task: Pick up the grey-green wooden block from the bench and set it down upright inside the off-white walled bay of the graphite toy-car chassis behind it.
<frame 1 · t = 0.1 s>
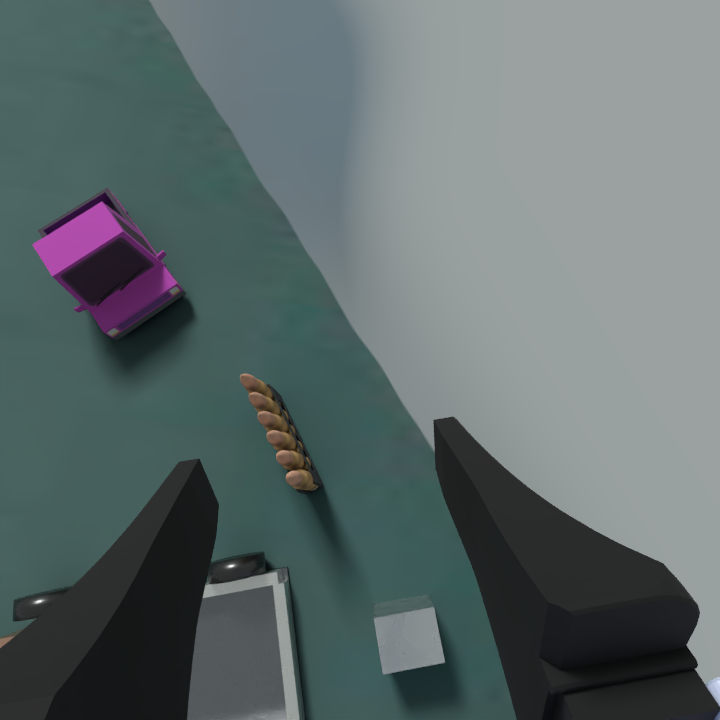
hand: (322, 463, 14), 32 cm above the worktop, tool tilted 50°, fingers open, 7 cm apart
chassis: (198, 662, 40), on the worktop
toy truck: (125, 273, 53), on the worktop
ammunition clip: (293, 442, 46), on the worktop
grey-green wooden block: (405, 623, 41), on the worktop
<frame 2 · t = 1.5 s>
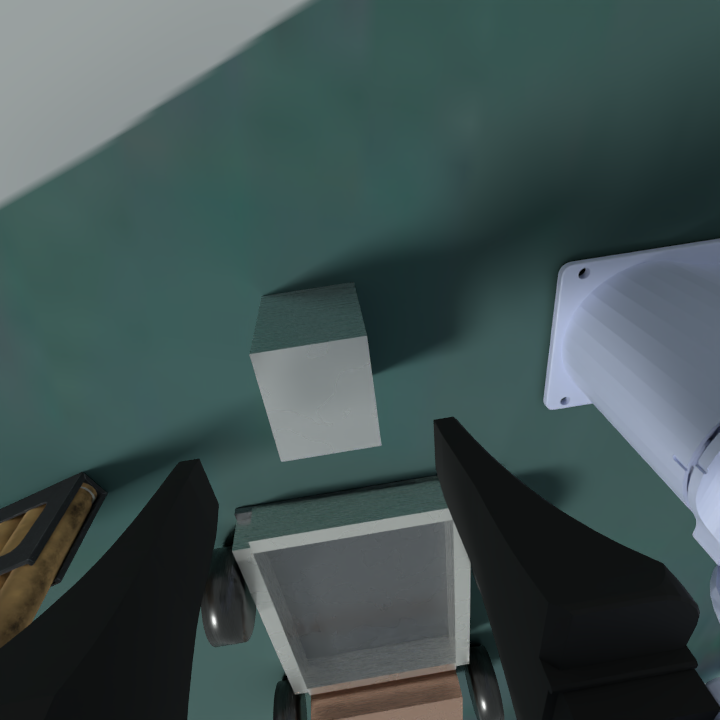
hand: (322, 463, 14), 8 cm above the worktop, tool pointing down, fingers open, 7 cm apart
chassis: (365, 581, 31), on the worktop
ammunition clip: (17, 515, 25), on the worktop
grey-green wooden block: (317, 338, 21), on the worktop
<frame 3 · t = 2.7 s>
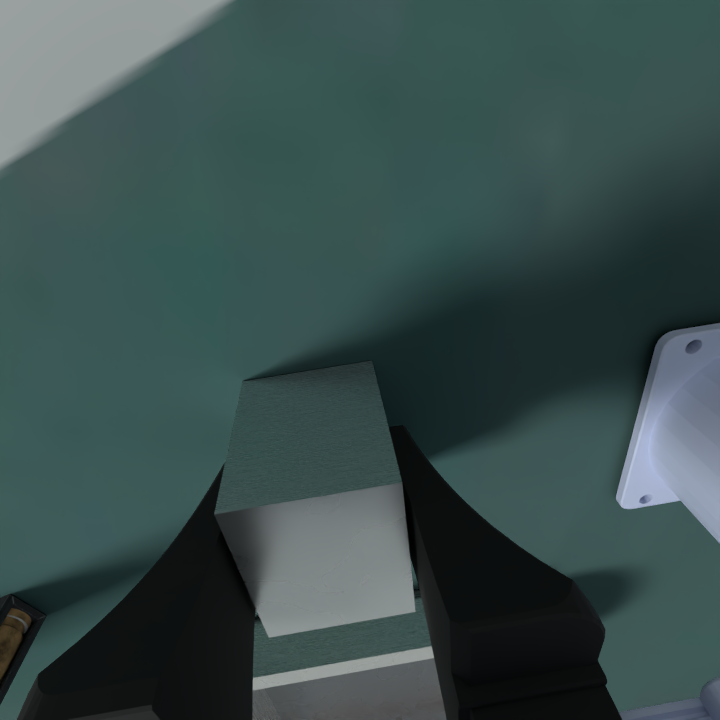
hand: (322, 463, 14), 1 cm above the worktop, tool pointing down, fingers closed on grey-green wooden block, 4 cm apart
chassis: (378, 691, 25), on the worktop
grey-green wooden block: (321, 432, 15), on the worktop, touching gripper
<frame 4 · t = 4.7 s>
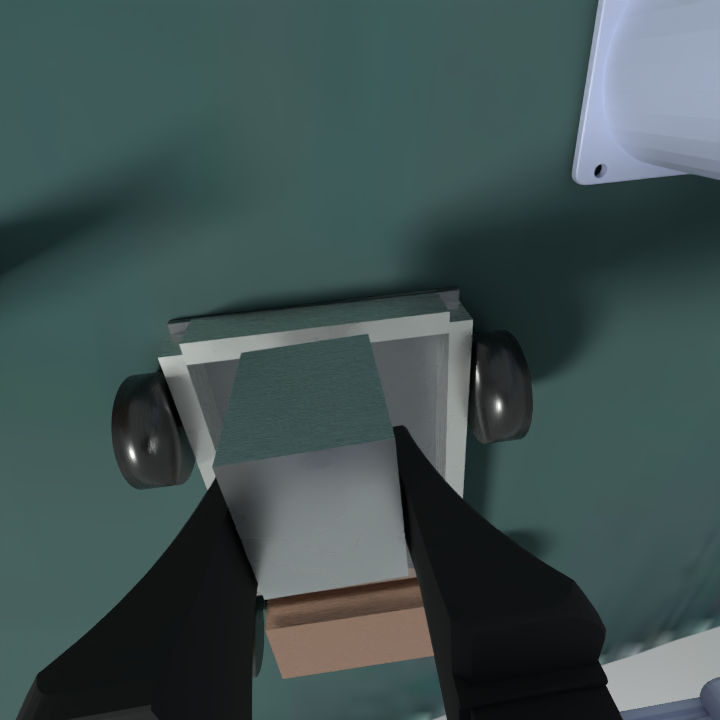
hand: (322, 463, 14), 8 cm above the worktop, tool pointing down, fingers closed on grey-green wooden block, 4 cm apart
chassis: (336, 451, 25), on the worktop
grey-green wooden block: (318, 406, 15), point 6 cm above the worktop, touching gripper
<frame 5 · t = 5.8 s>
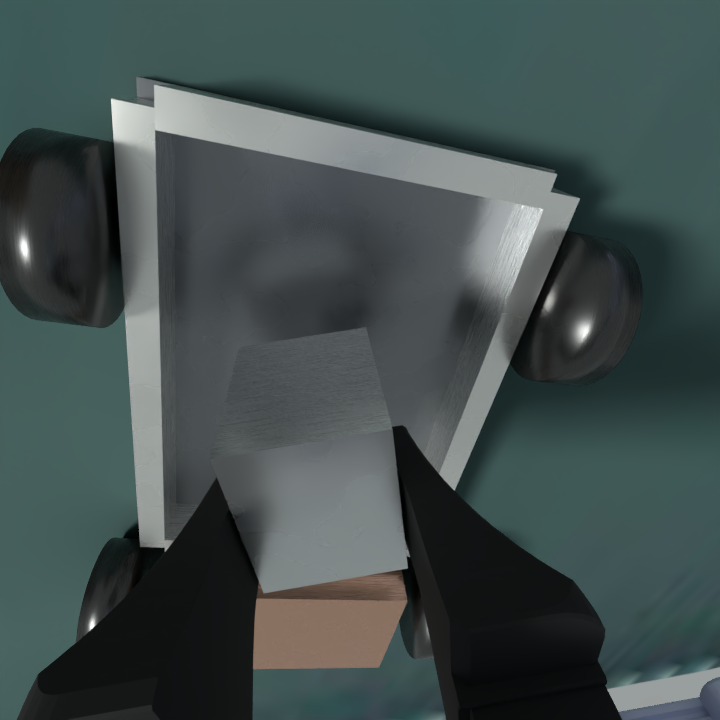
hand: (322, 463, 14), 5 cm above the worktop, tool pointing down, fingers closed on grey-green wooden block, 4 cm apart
chassis: (318, 368, 18), on the worktop
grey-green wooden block: (316, 401, 15), point 3 cm above the worktop, touching gripper
when the fingers open (3 cm above the worktop, at t = 6.6 s): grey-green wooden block stays where it is, resting on chassis.
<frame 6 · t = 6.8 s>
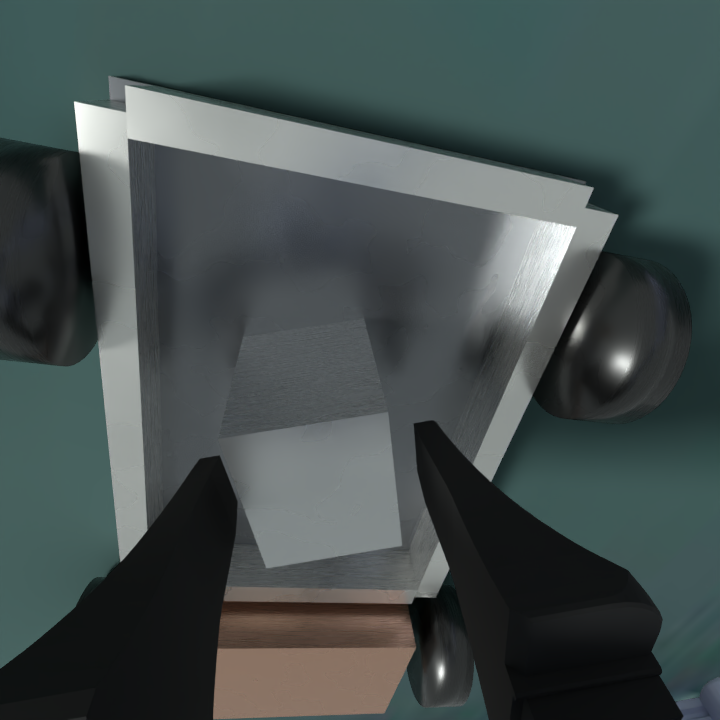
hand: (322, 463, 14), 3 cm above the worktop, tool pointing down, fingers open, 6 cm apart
chassis: (319, 398, 17), on the worktop
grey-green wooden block: (316, 389, 16), resting on chassis
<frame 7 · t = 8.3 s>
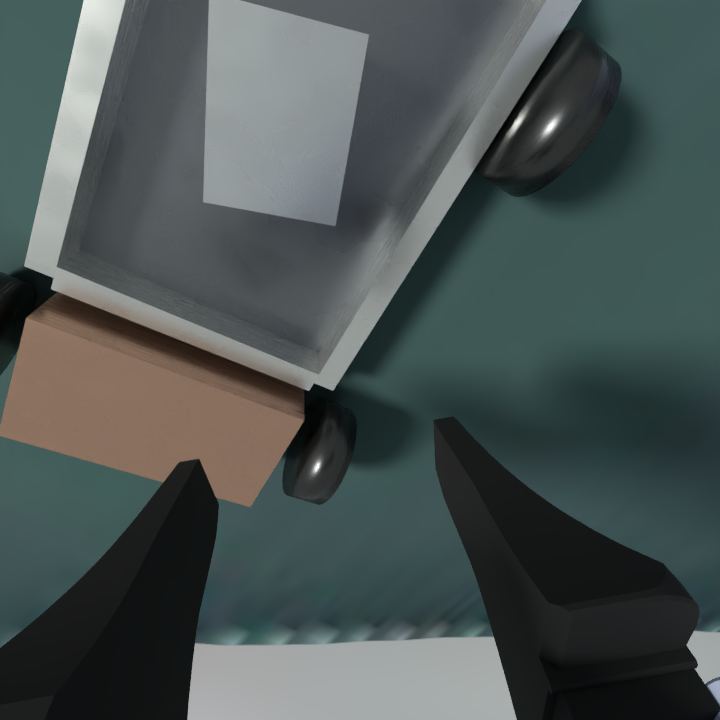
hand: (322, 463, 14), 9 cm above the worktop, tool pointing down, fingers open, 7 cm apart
chassis: (285, 133, 17), on the worktop
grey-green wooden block: (286, 114, 17), resting on chassis
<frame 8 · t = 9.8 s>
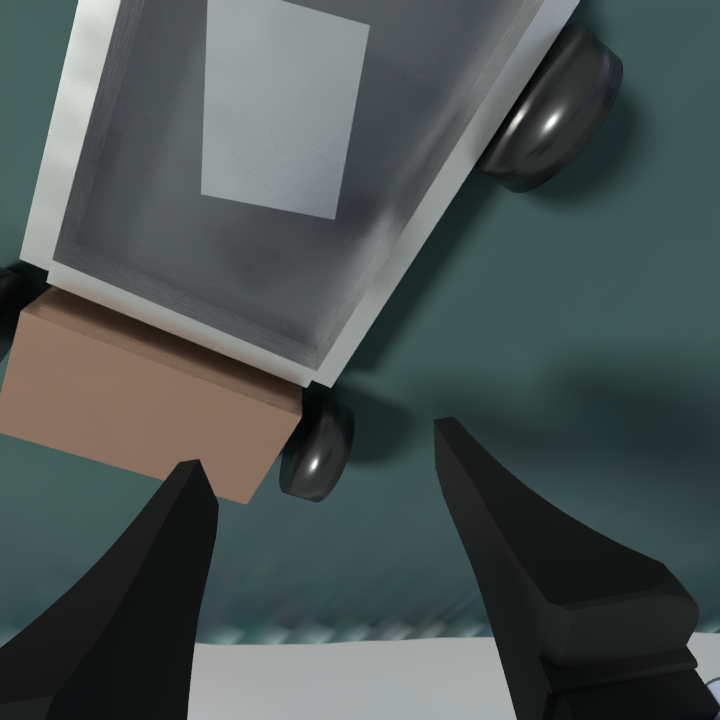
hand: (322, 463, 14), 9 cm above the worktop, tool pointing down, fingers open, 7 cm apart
chassis: (284, 127, 17), on the worktop
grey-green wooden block: (286, 108, 17), resting on chassis
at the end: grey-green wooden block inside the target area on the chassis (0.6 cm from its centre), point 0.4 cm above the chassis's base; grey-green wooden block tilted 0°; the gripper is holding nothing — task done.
